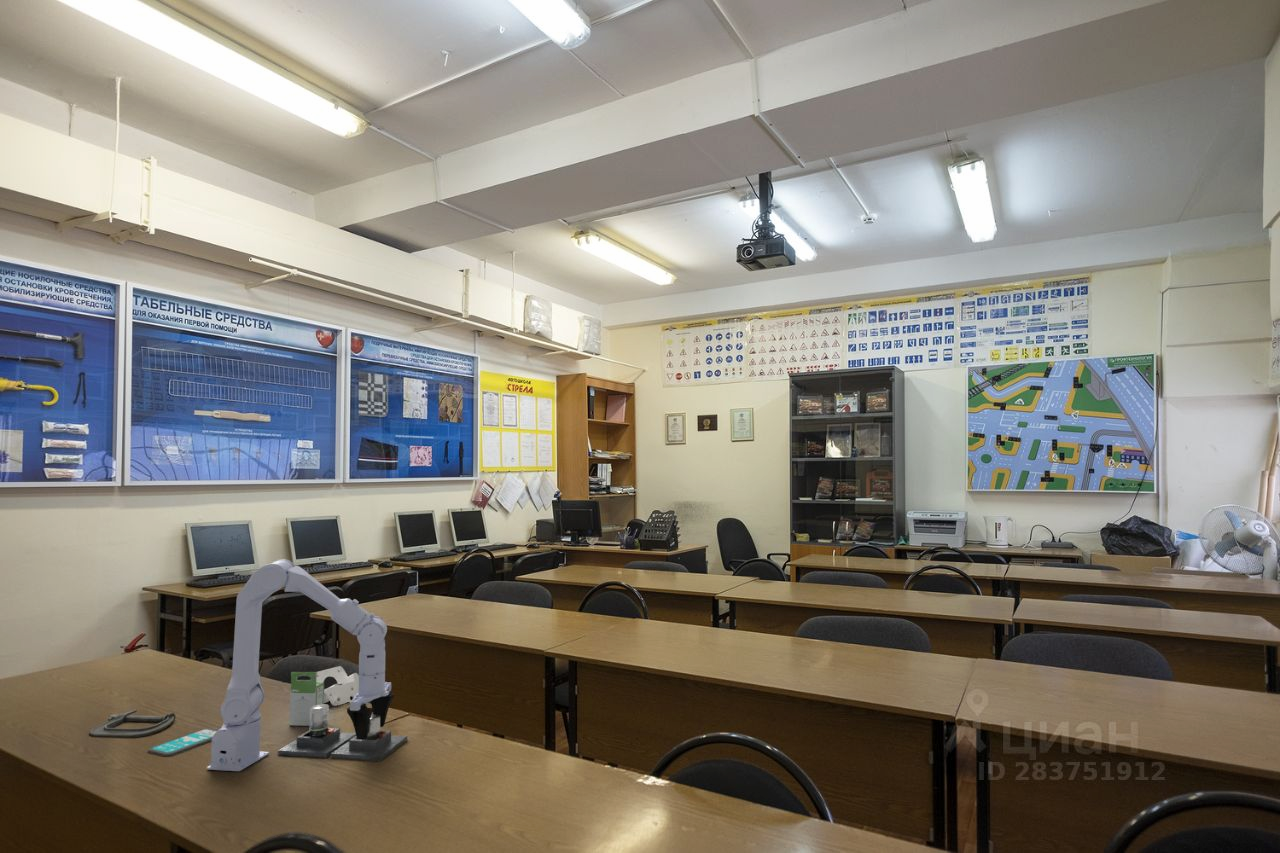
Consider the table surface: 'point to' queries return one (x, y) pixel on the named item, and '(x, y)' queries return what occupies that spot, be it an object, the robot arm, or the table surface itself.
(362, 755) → the stand
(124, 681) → the table surface
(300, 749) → the stand
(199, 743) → the smartphone
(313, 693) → the ink box
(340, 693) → the mounting bracket
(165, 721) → the c clamp
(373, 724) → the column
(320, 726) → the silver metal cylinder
